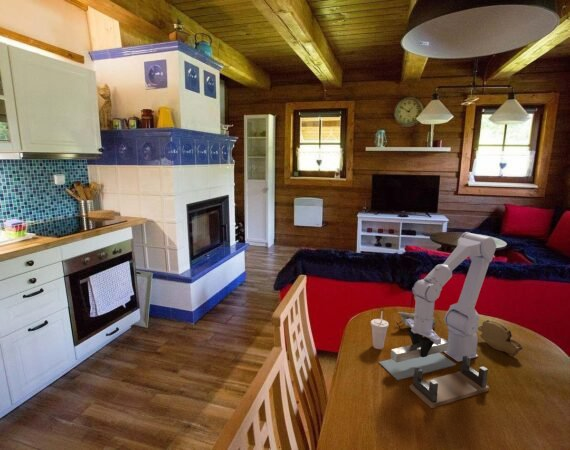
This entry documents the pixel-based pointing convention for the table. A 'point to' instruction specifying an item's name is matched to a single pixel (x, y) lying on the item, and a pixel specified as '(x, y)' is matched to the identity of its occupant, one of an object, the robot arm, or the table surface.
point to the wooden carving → (499, 337)
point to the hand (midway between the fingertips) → (420, 353)
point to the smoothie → (379, 332)
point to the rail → (417, 351)
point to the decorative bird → (411, 316)
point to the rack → (450, 385)
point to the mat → (416, 365)
